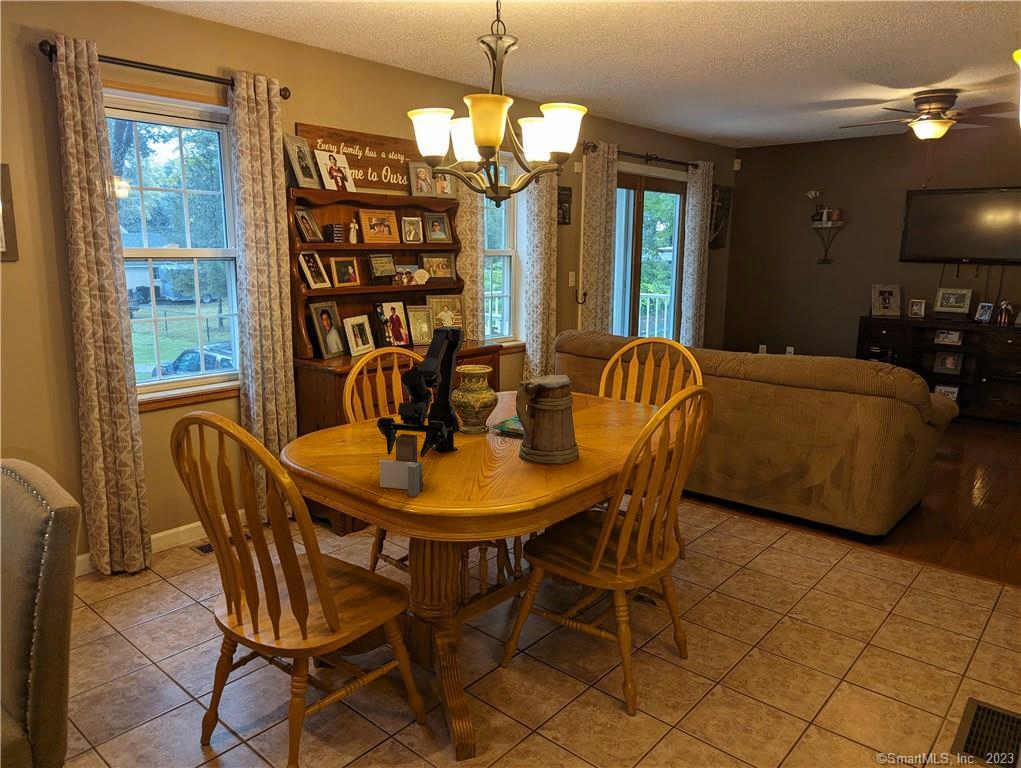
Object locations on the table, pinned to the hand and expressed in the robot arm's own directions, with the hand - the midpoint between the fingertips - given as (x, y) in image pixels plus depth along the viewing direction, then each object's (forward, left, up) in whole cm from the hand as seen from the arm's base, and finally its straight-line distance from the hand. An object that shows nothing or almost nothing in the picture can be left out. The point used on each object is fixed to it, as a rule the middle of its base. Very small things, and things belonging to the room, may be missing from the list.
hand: (404, 455), depth 188 cm
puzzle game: (-28, +60, -9) cm, 67 cm away
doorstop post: (-1, +1, -8) cm, 8 cm away
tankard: (+1, +47, -8) cm, 47 cm away
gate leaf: (+2, -2, -8) cm, 9 cm away
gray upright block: (+8, -2, -8) cm, 12 cm away
